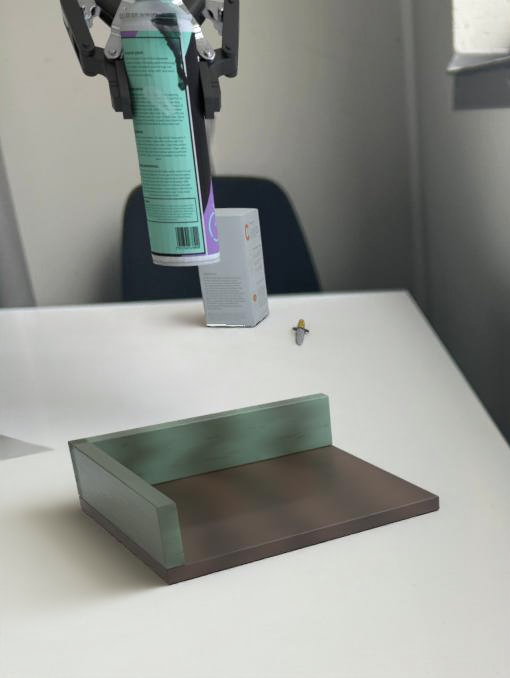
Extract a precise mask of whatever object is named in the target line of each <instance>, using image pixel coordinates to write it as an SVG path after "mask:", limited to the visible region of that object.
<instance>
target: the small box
mask: <svg viewBox="0 0 510 678" xmlns="http://www.w3.org/2000/svg"><path fill="white" fill-rule="evenodd" d="M215 216H216V225H217V233H218V242H219V251H220V256H219V257H220V261H219V262H216V263H212V264H206V265H197V269H198V276H199V283H200V290H201V299H202V306H203V311H204V313H203V314H204V320H205V325H206V324H226V325H243V326H244V325H245V326H254V327H256V326H257V325H258V324H259V323H260V322H261V321H262V320H263V318H264V317H265V316H266V315H267V314H268V313H269V314H270V309H269V300H268V289H267V284H266V283H267V282H266V273H265V264H264V263H265V262H264V254H263V252H264V251H263V245H262V244H263V243H262V235H261V225H260V216H259V209H258V208H253V207H225V208H223V207H222V208H221V207H219V208H218V207H217V208H215ZM269 314H268V315H269ZM268 315H267V316H268ZM267 316H266V317H267ZM266 317H265V318H266ZM265 318H264V319H265ZM259 321H260V322H259ZM258 322H259V323H258ZM257 323H258V324H257ZM256 324H257V325H256Z"/></svg>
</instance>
